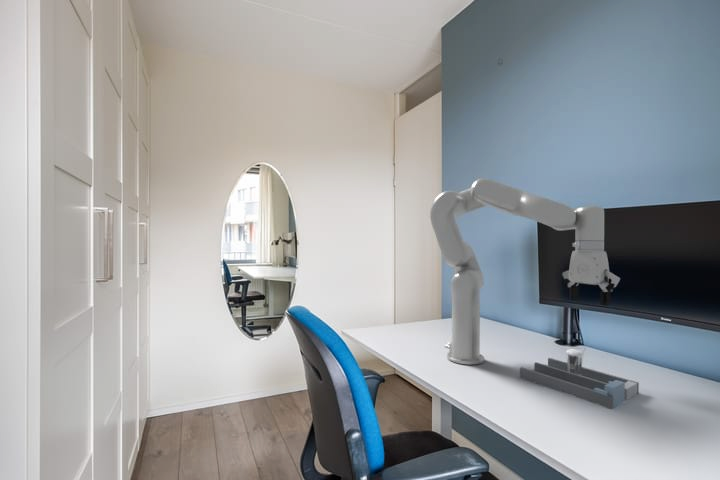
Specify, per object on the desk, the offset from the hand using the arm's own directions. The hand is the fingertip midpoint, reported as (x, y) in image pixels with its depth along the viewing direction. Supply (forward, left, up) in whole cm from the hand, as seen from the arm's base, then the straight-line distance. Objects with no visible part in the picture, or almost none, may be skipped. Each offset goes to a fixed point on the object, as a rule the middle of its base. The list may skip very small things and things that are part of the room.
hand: (589, 302), depth 113 cm
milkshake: (-1, -5, -23) cm, 24 cm away
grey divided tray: (+1, -9, -23) cm, 25 cm away
